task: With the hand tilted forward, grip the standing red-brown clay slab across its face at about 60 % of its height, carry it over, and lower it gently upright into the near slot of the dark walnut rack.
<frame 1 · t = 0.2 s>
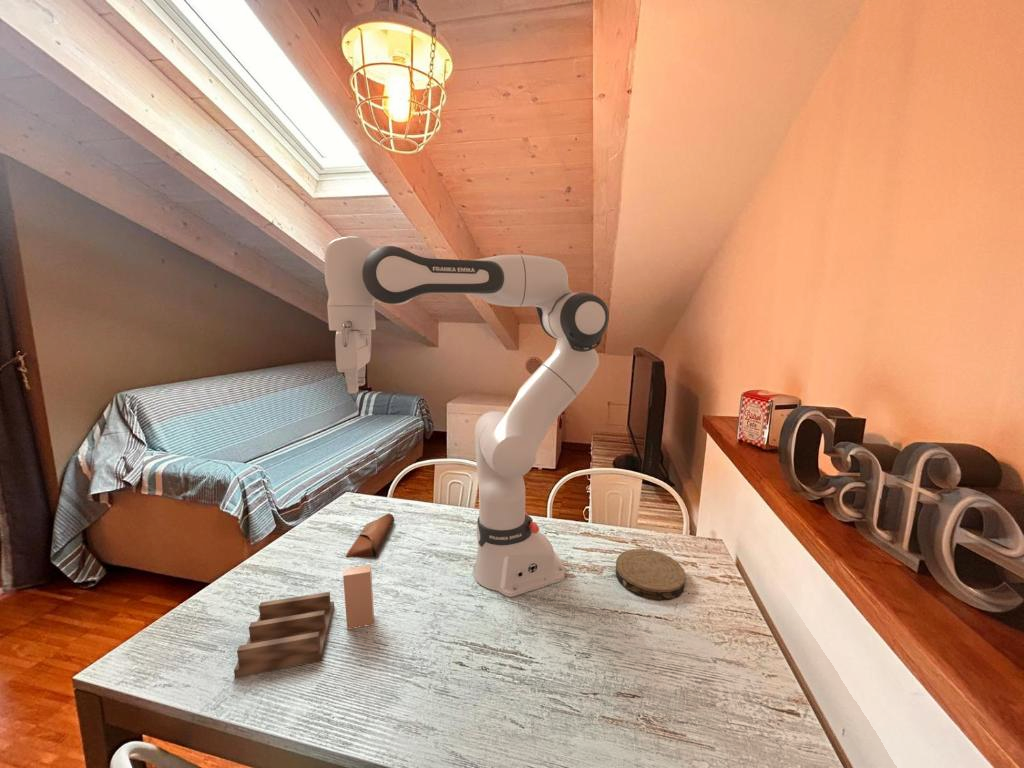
hand: (357, 389, 84), 47 cm above the table, tool pointing down, fingers open, 8 cm apart
sunglasses case: (371, 541, 114), on the table
wood slice: (649, 579, 98), on the table
rack: (289, 638, 79), on the table
clay slab: (360, 622, 83), on the table
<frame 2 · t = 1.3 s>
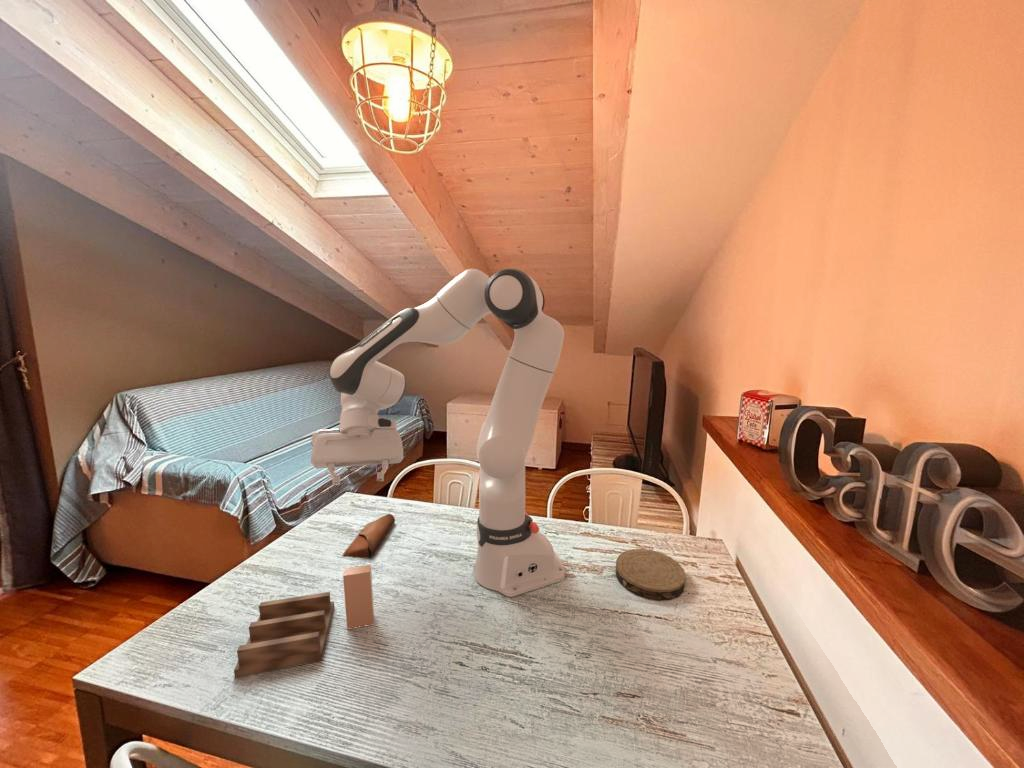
hand: (358, 482, 92), 25 cm above the table, tool tilted 45°, fingers open, 8 cm apart
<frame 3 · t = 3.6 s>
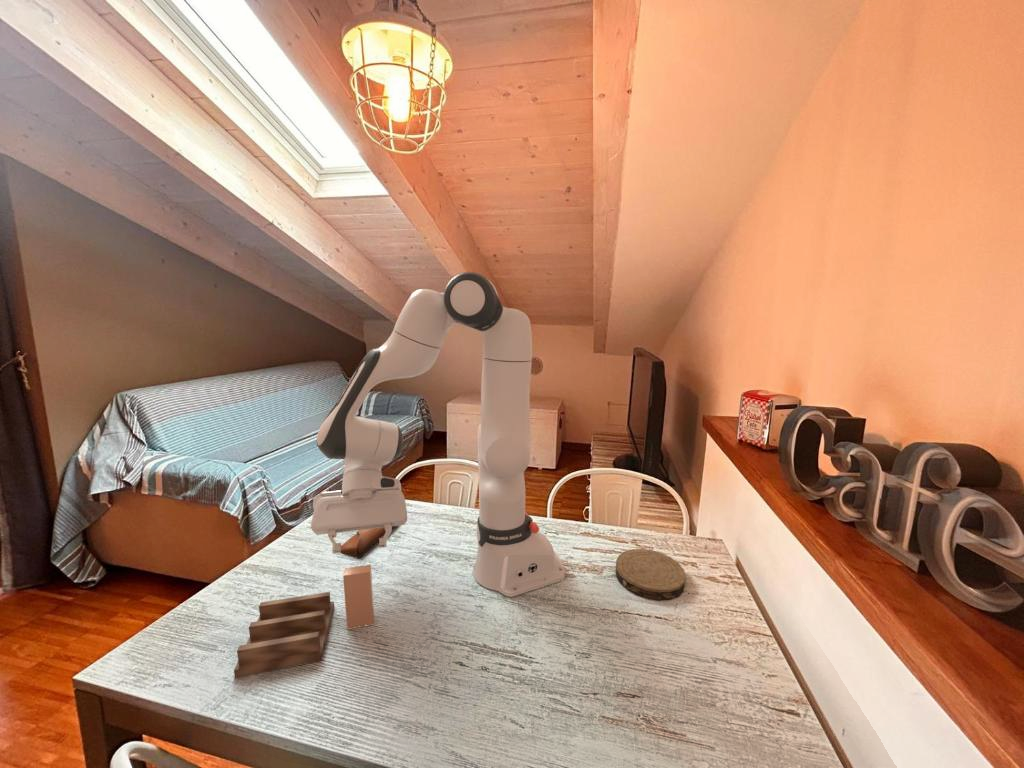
hand: (360, 549, 88), 12 cm above the table, tool tilted 45°, fingers open, 8 cm apart
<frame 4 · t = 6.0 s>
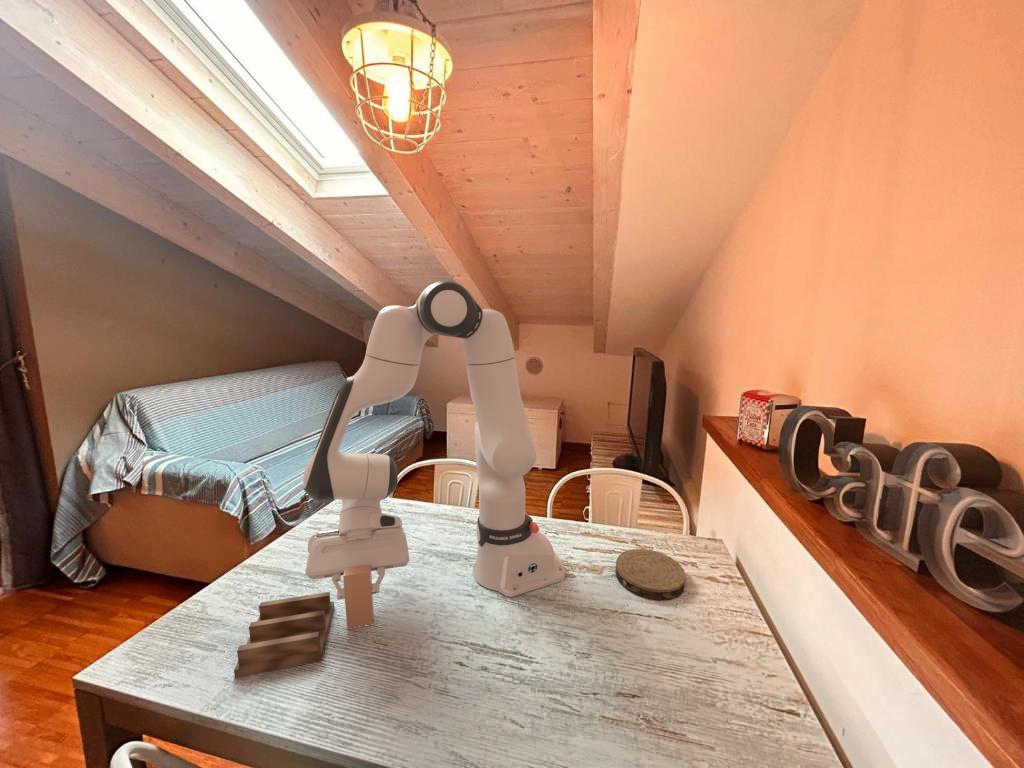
hand: (358, 596, 82), 7 cm above the table, tool tilted 45°, fingers closed on clay slab, 5 cm apart
clay slab: (360, 622, 83), on the table, touching gripper
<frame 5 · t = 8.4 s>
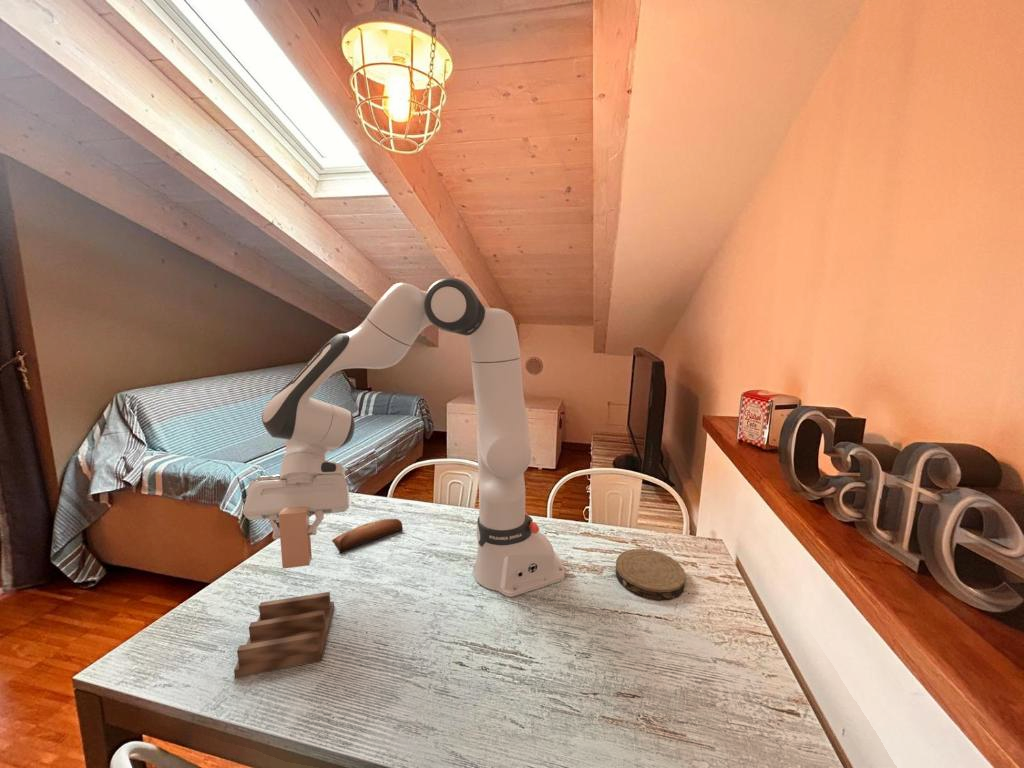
hand: (294, 536, 83), 17 cm above the table, tool tilted 45°, fingers closed on clay slab, 5 cm apart
clay slab: (297, 563, 85), point 11 cm above the table, touching gripper
when the fingers open (9 cm above the table, at t = 11.0 s): clay slab drops 1 cm, resting on rack.
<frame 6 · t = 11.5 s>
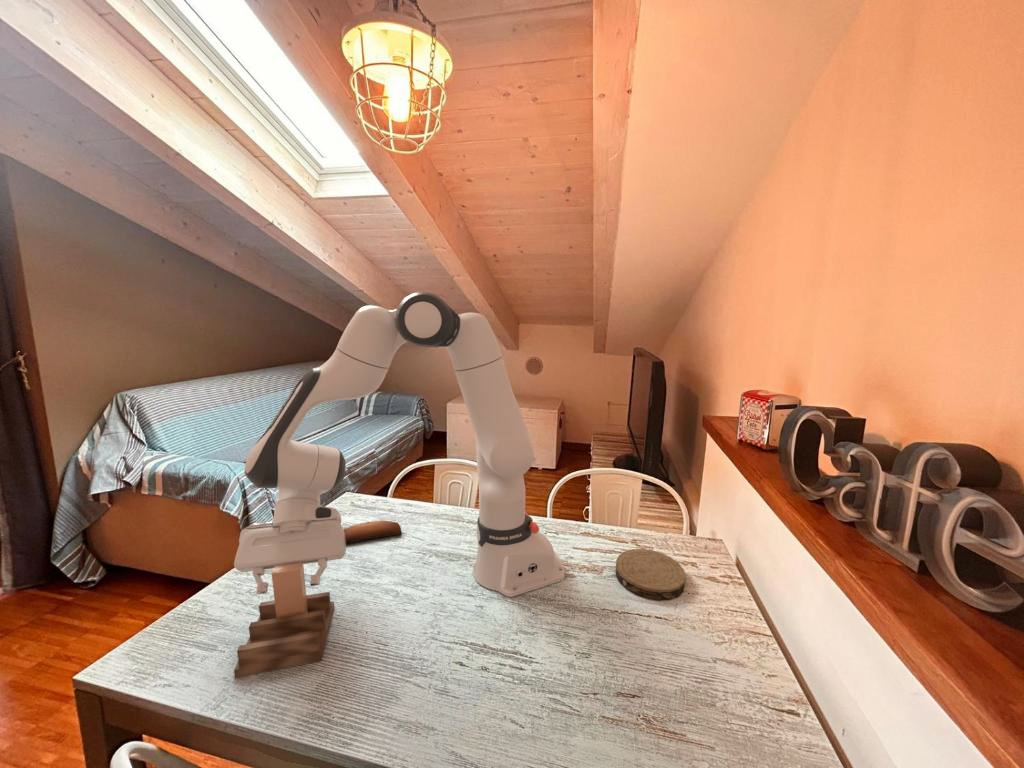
hand: (288, 589, 80), 9 cm above the table, tool tilted 45°, fingers open, 8 cm apart
clay slab: (293, 621, 82), point 1 cm above the table, touching rack
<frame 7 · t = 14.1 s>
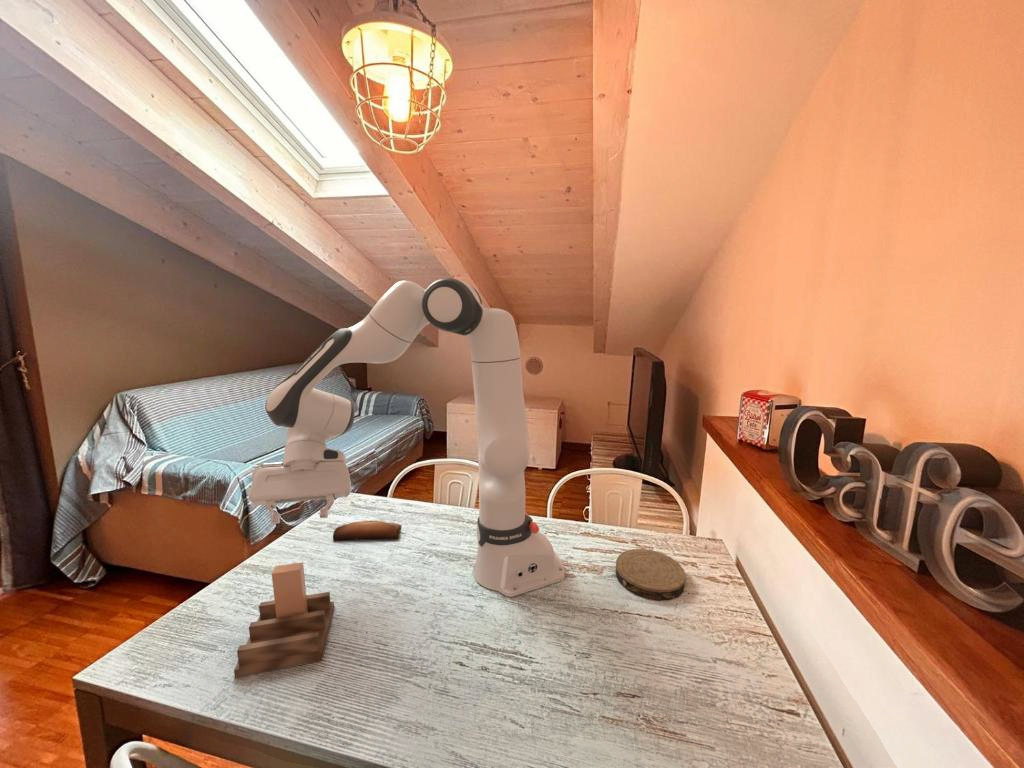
hand: (299, 520, 87), 19 cm above the table, tool tilted 45°, fingers open, 8 cm apart
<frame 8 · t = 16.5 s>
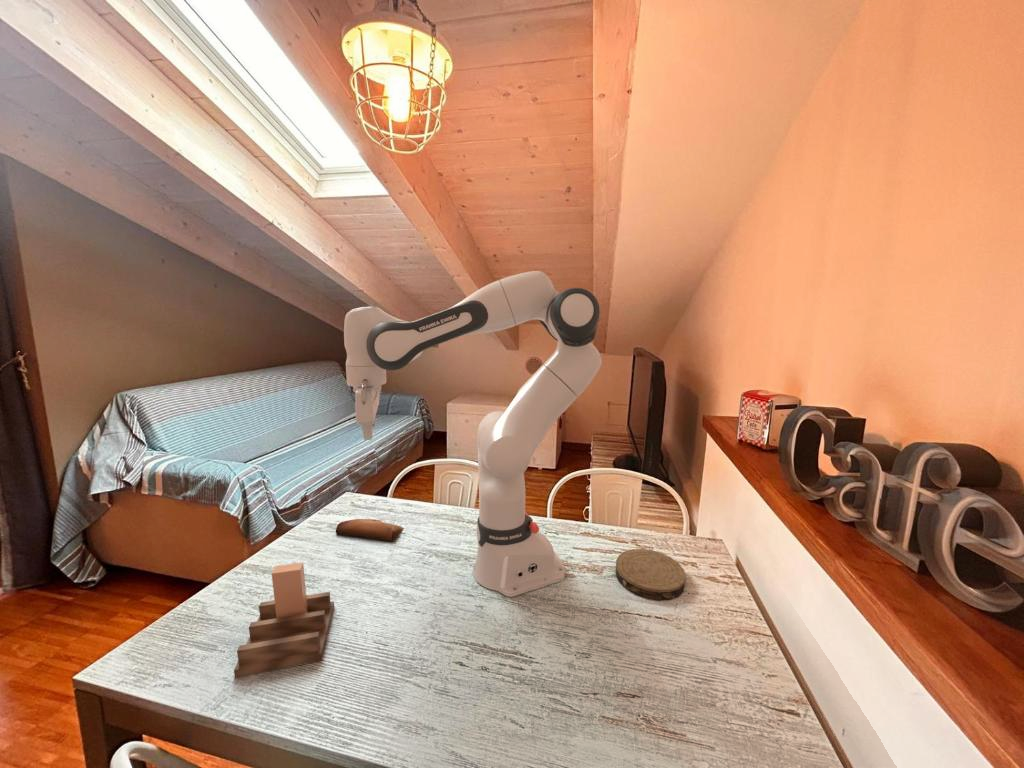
hand: (369, 433, 98), 34 cm above the table, tool pointing down, fingers open, 8 cm apart
at the end: clay slab inside the target area on the rack (0.1 cm from its centre), point 1.5 cm above the rack's base; clay slab tilted 0°; the gripper is holding nothing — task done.
